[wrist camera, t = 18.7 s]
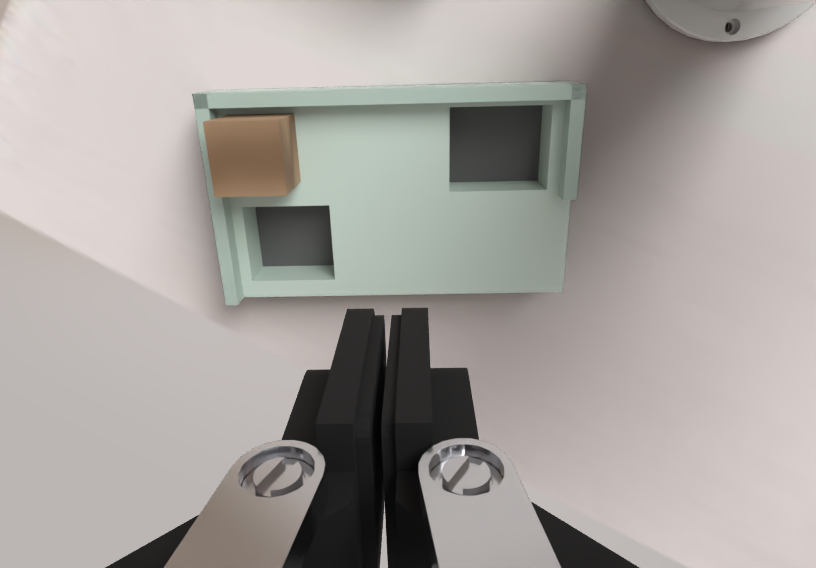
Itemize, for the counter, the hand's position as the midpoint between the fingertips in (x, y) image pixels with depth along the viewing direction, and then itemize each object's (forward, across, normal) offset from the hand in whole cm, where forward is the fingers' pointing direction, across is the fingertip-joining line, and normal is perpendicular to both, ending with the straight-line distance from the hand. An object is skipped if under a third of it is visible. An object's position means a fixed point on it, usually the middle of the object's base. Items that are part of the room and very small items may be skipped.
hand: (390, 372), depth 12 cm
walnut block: (+24, +9, -1) cm, 26 cm away
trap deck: (+27, +1, +2) cm, 27 cm away
